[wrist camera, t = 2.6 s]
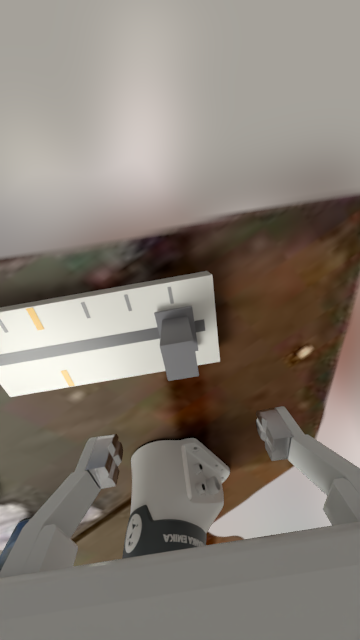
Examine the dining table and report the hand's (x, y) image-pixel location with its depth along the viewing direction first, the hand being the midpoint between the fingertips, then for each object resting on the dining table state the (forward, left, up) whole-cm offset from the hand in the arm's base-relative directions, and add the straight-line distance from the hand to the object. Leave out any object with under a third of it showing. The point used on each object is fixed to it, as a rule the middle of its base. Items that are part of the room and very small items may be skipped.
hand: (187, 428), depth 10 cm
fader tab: (0, 0, -12) cm, 12 cm away
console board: (+6, +8, -16) cm, 19 cm away
